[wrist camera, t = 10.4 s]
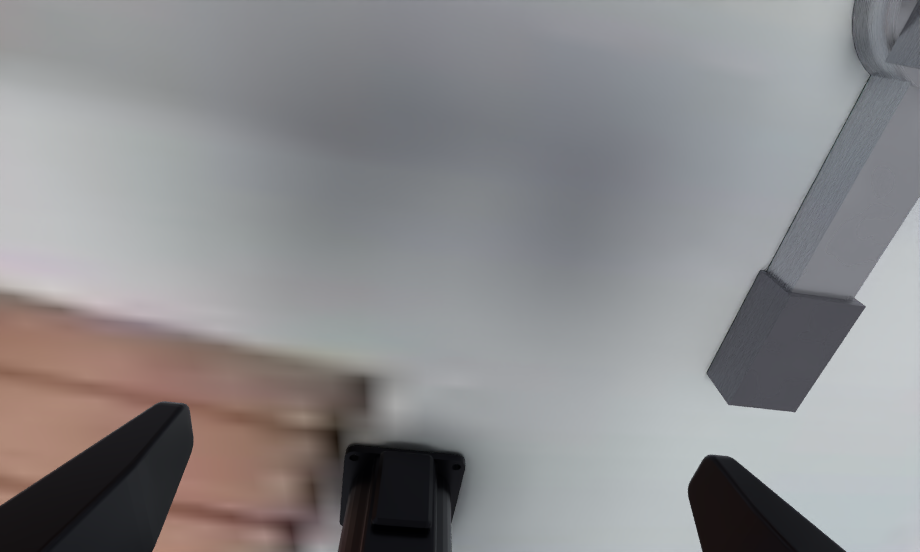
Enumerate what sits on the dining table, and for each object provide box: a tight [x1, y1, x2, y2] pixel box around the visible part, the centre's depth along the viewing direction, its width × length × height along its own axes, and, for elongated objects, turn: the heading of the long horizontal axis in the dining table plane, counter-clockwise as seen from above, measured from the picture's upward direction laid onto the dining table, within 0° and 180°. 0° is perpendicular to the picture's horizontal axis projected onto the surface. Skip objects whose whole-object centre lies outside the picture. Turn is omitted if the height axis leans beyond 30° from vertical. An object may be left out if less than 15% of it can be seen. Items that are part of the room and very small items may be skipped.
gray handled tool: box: [707, 0, 920, 412], centre depth 18 cm, size 21×7×6 cm, turn 171°
